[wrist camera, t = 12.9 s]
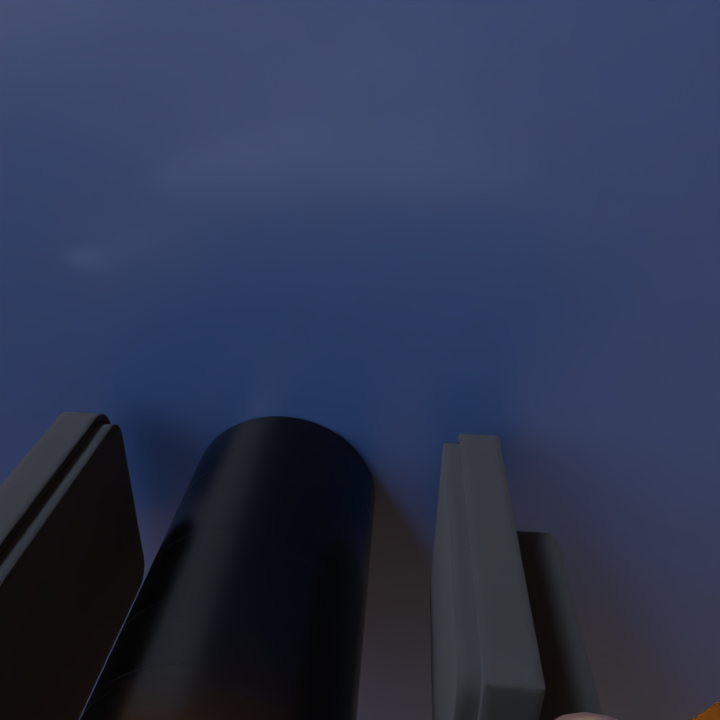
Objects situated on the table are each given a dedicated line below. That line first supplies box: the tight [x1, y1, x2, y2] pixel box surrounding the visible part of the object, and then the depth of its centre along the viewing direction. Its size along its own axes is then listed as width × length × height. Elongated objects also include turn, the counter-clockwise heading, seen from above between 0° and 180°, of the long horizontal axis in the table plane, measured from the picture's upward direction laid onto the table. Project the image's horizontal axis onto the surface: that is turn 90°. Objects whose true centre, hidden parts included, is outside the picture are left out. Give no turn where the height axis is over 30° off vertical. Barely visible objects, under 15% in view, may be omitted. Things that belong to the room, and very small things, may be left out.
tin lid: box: [0, 0, 720, 720], centre depth 9 cm, size 18×18×7 cm
